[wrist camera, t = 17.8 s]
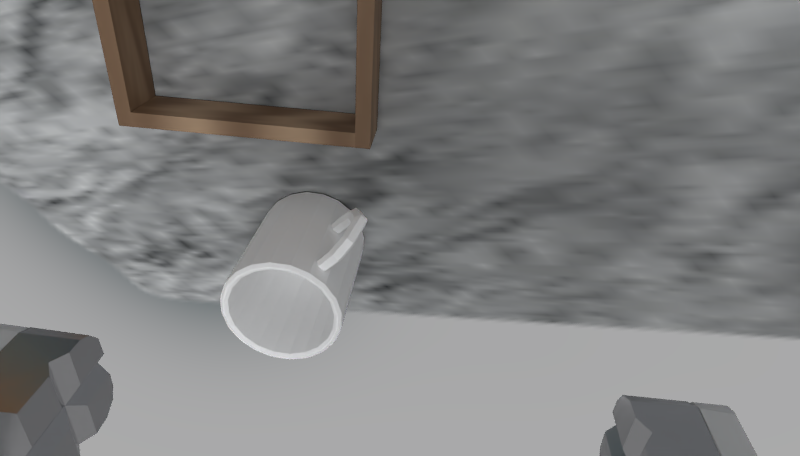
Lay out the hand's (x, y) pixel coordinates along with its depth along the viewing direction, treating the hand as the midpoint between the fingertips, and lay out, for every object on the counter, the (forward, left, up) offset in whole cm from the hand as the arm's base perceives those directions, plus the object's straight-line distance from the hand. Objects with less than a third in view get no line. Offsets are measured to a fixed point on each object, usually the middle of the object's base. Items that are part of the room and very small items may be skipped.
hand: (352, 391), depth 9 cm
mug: (+7, +16, -31) cm, 36 cm away
